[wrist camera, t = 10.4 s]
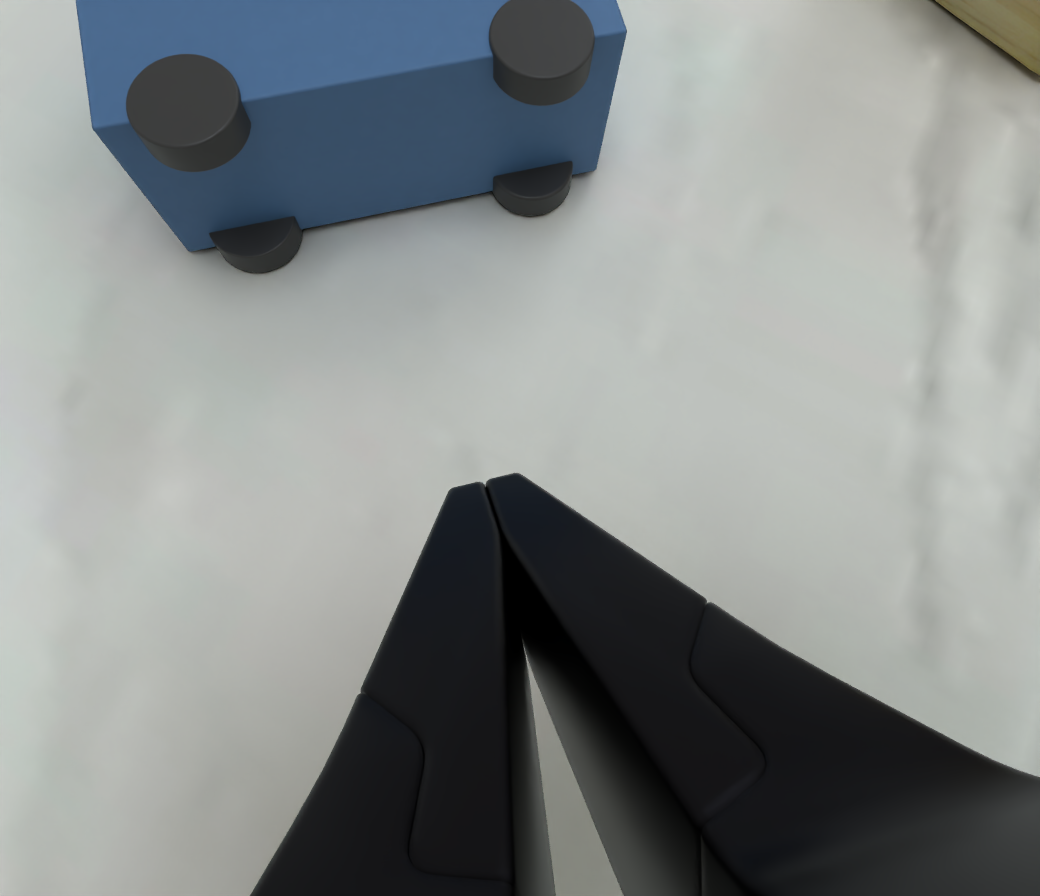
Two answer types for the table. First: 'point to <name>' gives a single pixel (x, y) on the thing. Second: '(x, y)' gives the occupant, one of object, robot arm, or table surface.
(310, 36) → the toy van
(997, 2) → the toy sofa
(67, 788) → the table surface
